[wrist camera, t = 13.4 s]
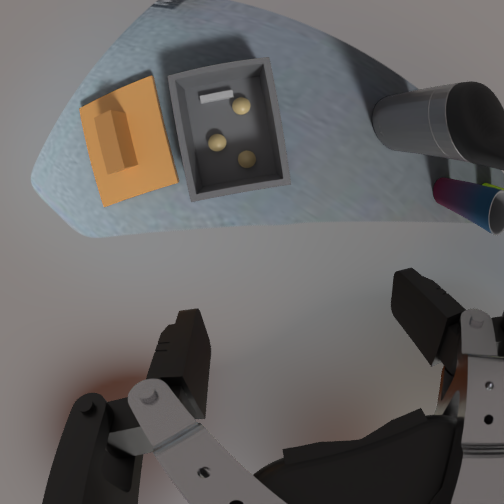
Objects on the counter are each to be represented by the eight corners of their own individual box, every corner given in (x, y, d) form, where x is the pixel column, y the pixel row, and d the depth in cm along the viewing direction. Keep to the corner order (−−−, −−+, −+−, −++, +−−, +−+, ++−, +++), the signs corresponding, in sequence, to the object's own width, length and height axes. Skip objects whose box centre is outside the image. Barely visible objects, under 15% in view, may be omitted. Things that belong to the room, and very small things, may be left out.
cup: (425, 182, 39) (485, 202, 25) (448, 166, 37) (508, 182, 24) (434, 215, 41) (490, 243, 27) (456, 198, 40) (512, 222, 26)
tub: (263, 72, 32) (269, 57, 25) (281, 177, 38) (291, 184, 31) (179, 87, 32) (167, 75, 25) (199, 192, 38) (191, 202, 31)
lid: (156, 78, 31) (139, 66, 25) (181, 180, 37) (169, 188, 31) (86, 109, 32) (61, 106, 25) (110, 204, 38) (88, 216, 31)
